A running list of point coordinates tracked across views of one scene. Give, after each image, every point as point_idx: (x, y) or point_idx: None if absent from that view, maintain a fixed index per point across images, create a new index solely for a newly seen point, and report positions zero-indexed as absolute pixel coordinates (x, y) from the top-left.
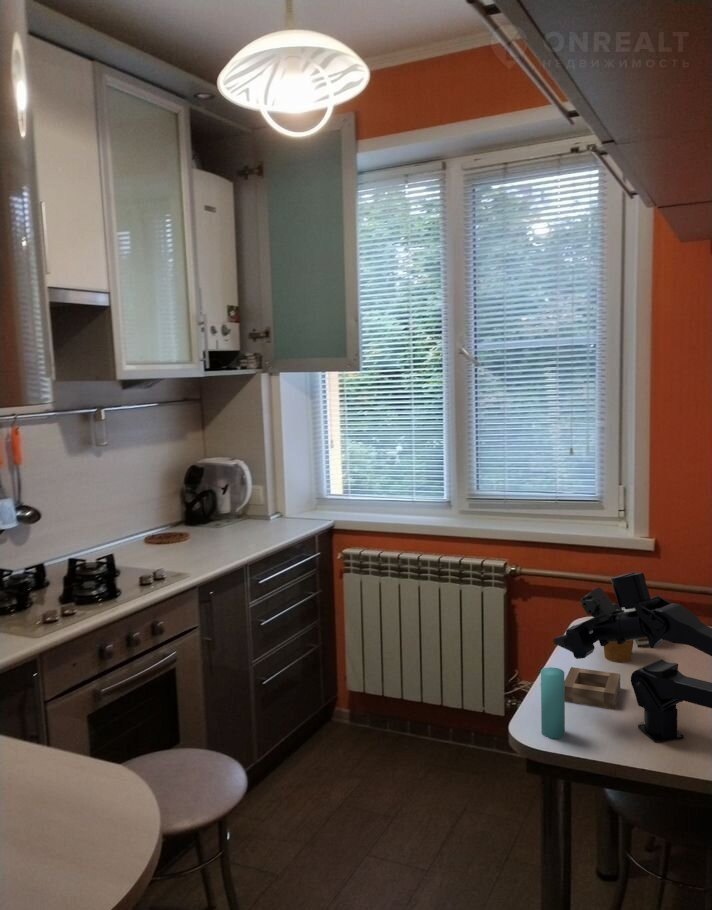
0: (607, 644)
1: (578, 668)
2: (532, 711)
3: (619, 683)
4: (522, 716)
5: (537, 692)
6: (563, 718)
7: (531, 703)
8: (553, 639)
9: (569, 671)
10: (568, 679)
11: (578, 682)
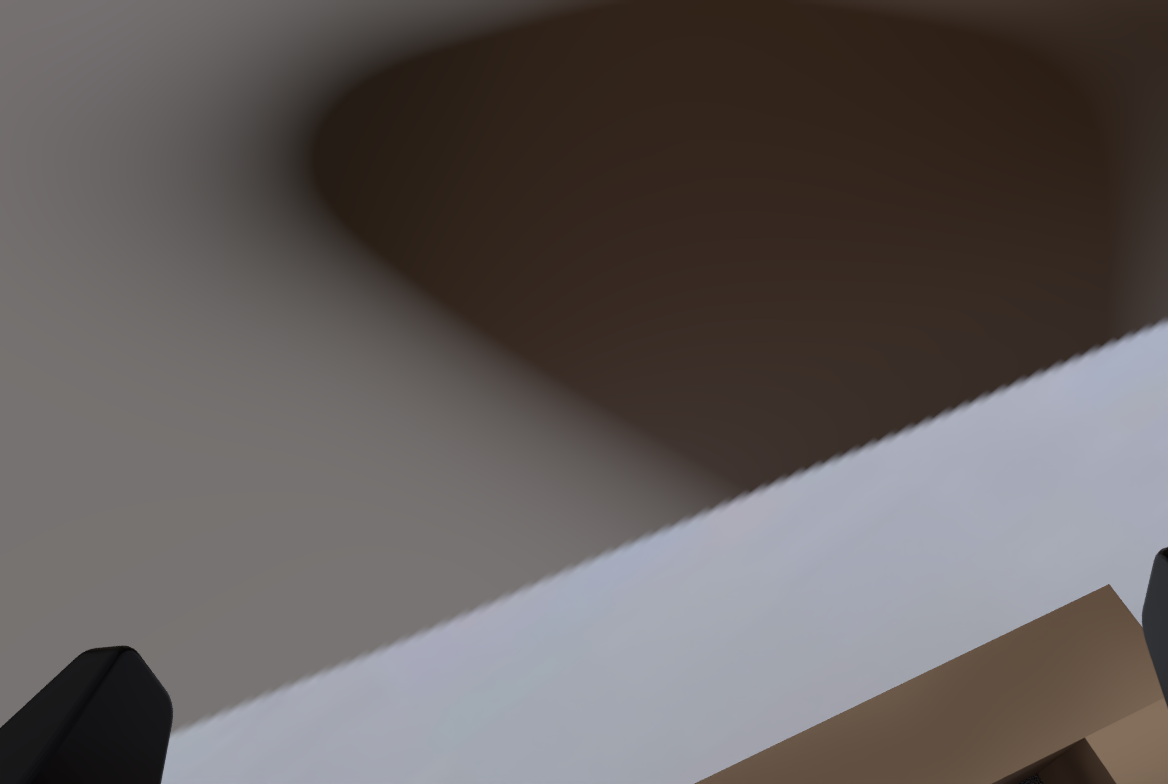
0: None
1: None
2: (248, 776)
3: None
4: None
5: (606, 570)
6: None
7: (382, 669)
8: (82, 661)
9: (993, 647)
10: (801, 774)
11: (1015, 780)
